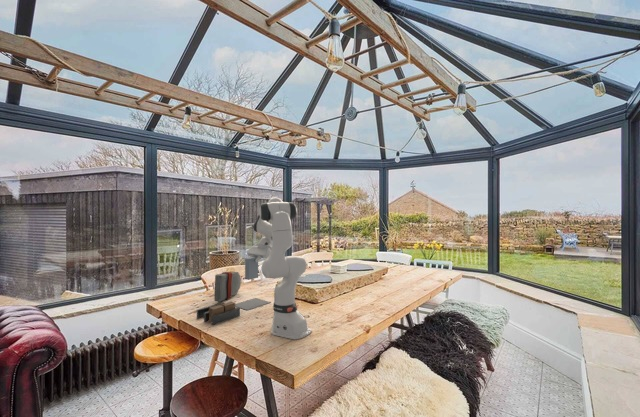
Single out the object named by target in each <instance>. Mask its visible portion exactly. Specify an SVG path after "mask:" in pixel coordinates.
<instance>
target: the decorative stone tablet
mask: <svg viewBox="0 0 640 417" xmlns="http://www.w3.org/2000/svg"><path fill="white" fill-rule="evenodd" d="M214 277H215V278H214V290H213V291H214V296H213V297H214V298H213V299H214V302H223V301H228V300H230V299H231V298H232V297H234V296H236V295H237V294H238V292H239V291H240V289H241V286H242V285H241V284H242V278H241V275H240V273H239V271H233V270H232V271H231V270H229V271H222V272H221V273H218V274H217V273H216V274H215V275H214Z"/></svg>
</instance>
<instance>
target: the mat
mask: <svg viewBox="0 0 640 417" xmlns="http://www.w3.org/2000/svg"><path fill="white" fill-rule="evenodd" d="M270 303H272V302H271V301H268V300H265V299H261V298H257V297H253V298H250V299H247V300H243V301H241V302H237V303H235V308H238V307H239V308H240V310H241V309H242V310H245V311H249V310H253V309H256V308H260V307H262V306H264V305H268V304H270Z"/></svg>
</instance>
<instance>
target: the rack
mask: <svg viewBox="0 0 640 417" xmlns="http://www.w3.org/2000/svg"><path fill="white" fill-rule="evenodd" d="M224 303H225V302H223V301H221V302H219V303H216V304H212V305H209V306H206V307H202V308H201V307H200V308H199V309H196V319H202V318H203V322H205V323H207V322H209V308H210V307H214V306H217V305H221V304H224ZM238 317H241V308H239V307H235V308H234V309H231V310H228V311H225V312H222V313H219V314H215V315H212V323H211V325H212V326H215V325H218V324H221V323H224V322H227V321H230V320H233V319H235V318H238Z"/></svg>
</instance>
